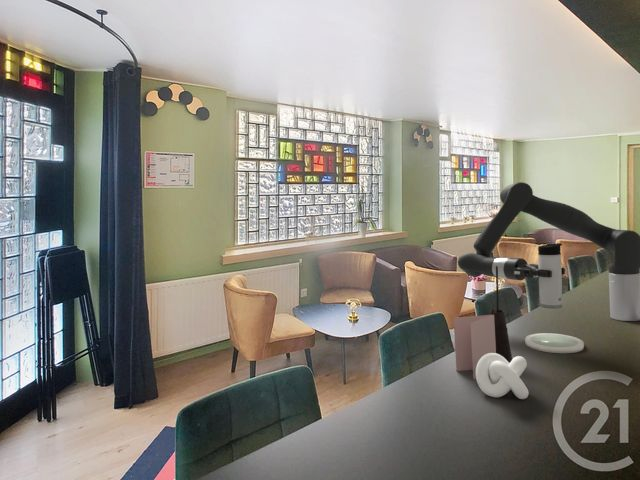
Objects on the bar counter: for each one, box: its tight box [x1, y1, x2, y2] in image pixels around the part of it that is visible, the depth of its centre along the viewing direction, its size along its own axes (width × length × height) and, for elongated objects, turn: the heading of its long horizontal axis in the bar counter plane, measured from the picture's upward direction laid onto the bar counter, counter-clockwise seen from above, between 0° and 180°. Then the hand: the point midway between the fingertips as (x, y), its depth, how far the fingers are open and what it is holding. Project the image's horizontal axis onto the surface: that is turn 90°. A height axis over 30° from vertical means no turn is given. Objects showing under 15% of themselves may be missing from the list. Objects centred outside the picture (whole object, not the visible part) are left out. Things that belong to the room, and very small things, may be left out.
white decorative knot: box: [475, 353, 529, 400], centre depth 94 cm, size 11×12×9 cm
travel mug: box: [537, 242, 564, 310], centre depth 125 cm, size 6×7×20 cm
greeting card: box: [453, 314, 496, 380], centre depth 108 cm, size 11×7×15 cm, turn 92°
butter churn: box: [489, 266, 513, 363], centre depth 117 cm, size 9×10×28 cm
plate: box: [524, 332, 585, 354], centre depth 126 cm, size 16×16×2 cm
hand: (557, 272), depth 123 cm, fingers closed on travel mug, 6 cm apart
